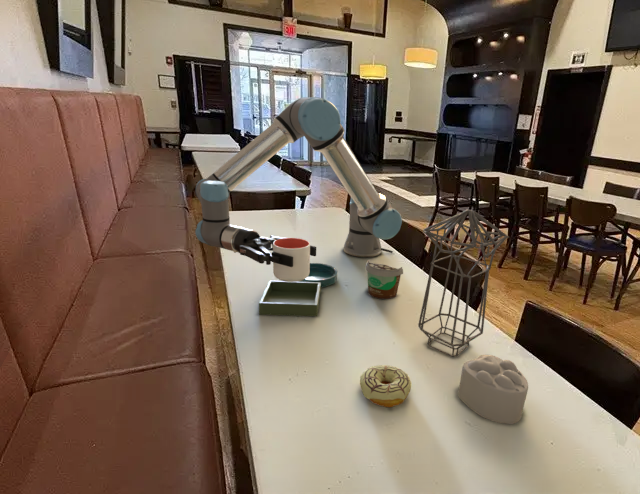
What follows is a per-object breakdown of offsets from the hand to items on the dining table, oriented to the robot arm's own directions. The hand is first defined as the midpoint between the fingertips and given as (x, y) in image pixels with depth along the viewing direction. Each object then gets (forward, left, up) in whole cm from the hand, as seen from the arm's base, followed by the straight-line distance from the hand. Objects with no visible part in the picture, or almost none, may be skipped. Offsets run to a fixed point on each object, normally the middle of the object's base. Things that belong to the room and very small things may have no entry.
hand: (304, 256), depth 113 cm
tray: (+4, -2, -15) cm, 16 cm away
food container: (-22, -9, -15) cm, 29 cm away
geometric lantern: (-38, +19, -15) cm, 45 cm away
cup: (+4, -2, -7) cm, 8 cm away
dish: (-1, -20, -15) cm, 25 cm away
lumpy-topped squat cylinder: (-42, +41, -15) cm, 61 cm away
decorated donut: (-20, +38, -15) cm, 46 cm away
